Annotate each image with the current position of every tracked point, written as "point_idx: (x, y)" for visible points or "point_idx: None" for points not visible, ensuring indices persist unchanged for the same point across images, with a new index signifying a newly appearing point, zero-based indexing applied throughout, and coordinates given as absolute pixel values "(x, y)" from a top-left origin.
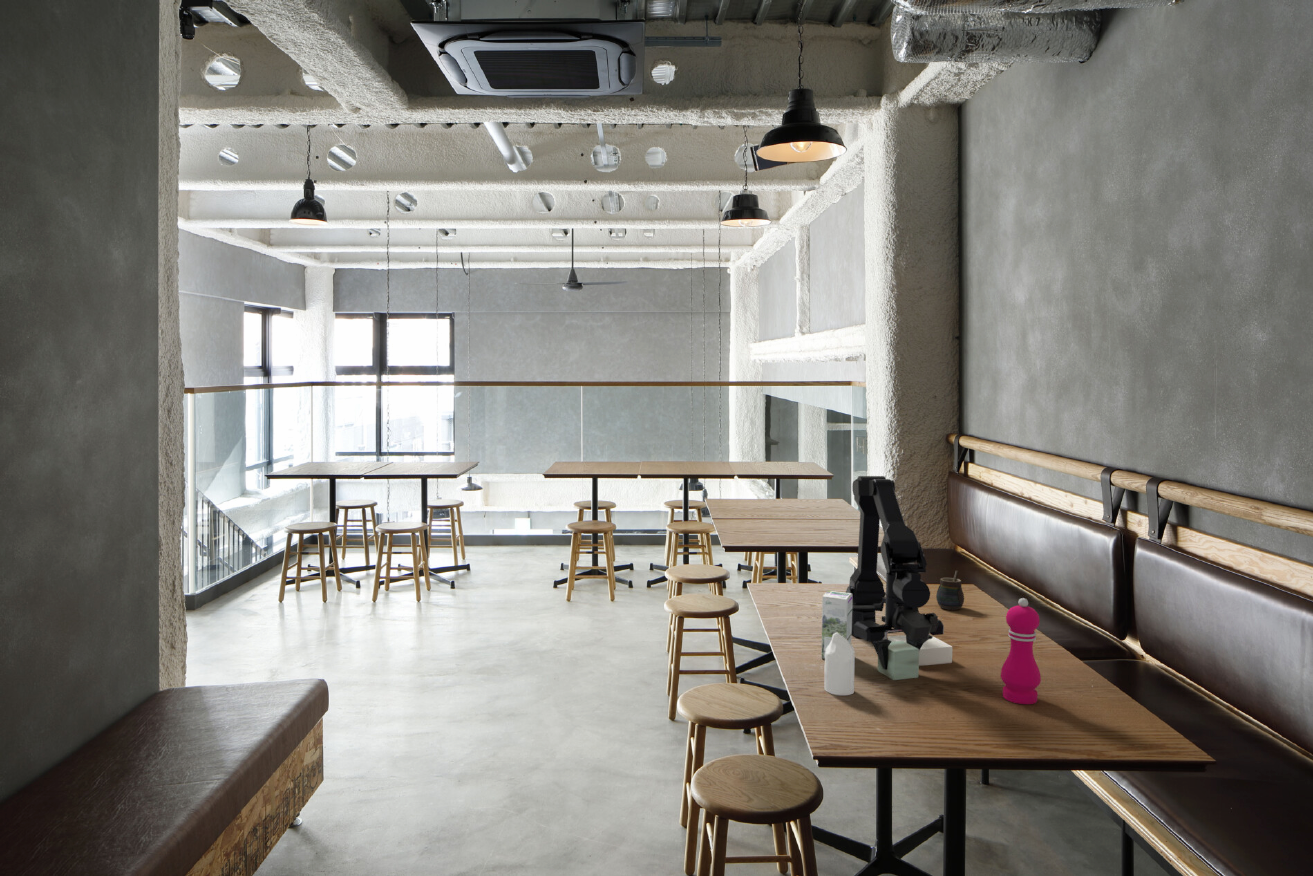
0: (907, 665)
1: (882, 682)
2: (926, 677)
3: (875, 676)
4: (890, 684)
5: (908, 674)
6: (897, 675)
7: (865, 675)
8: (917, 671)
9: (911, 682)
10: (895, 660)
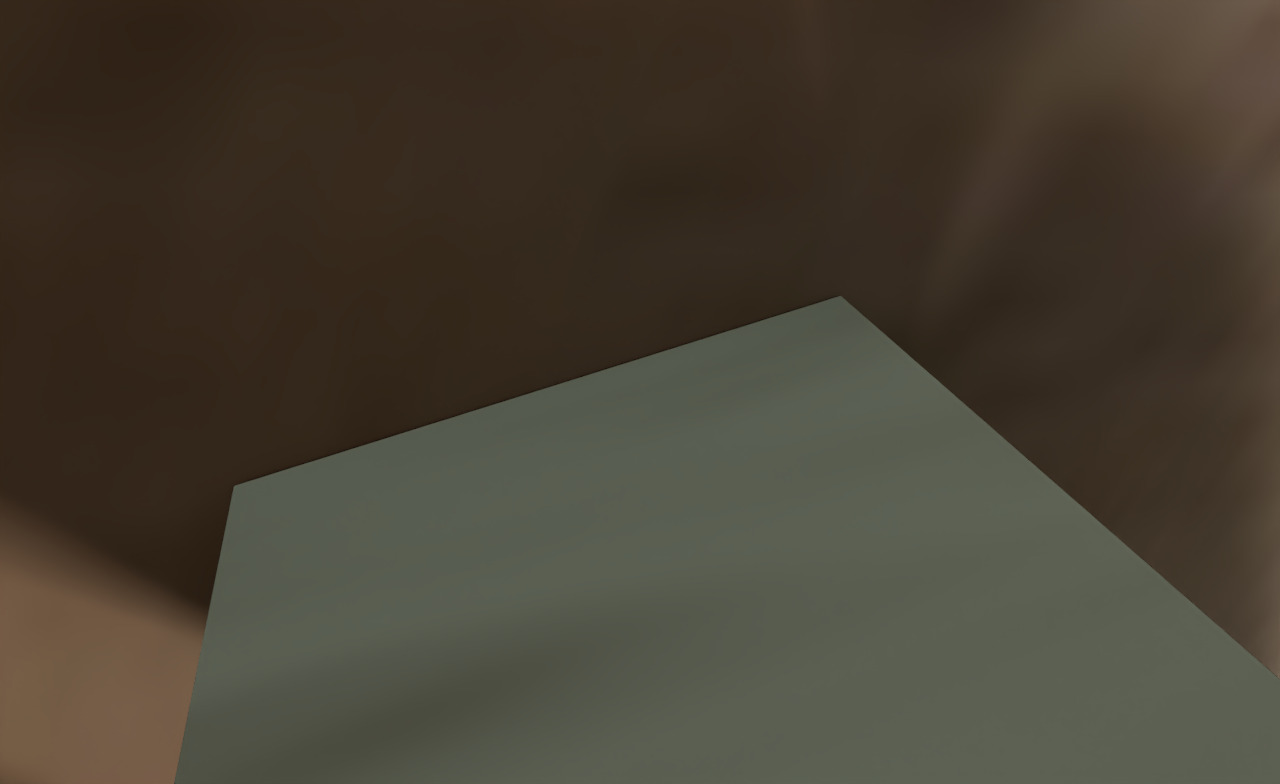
0: (583, 595)
1: (1101, 178)
2: (18, 499)
3: (1039, 466)
4: (1021, 52)
5: (504, 455)
6: (791, 367)
7: (1153, 494)
8: (247, 566)
9: (502, 169)
10: (1095, 583)
